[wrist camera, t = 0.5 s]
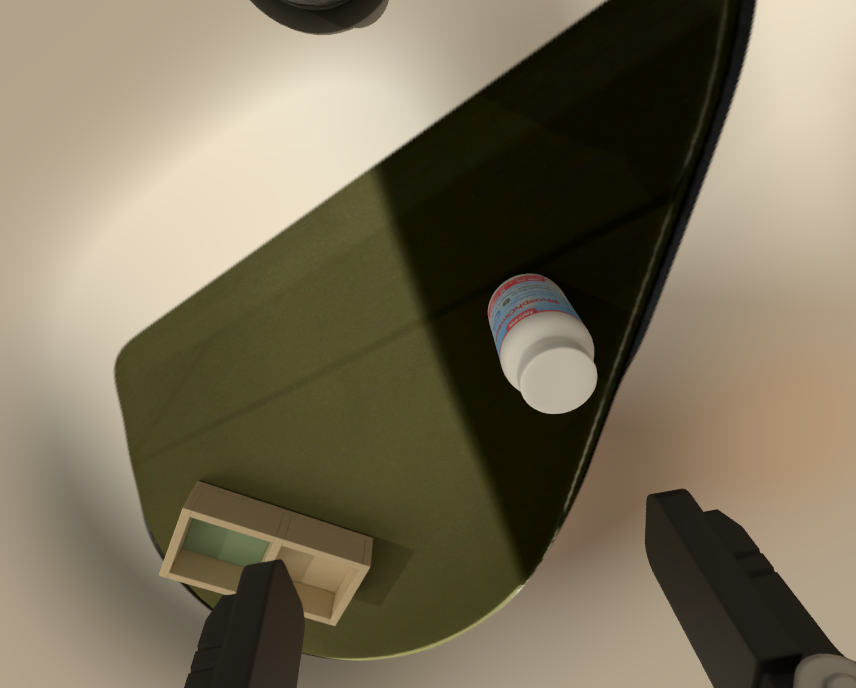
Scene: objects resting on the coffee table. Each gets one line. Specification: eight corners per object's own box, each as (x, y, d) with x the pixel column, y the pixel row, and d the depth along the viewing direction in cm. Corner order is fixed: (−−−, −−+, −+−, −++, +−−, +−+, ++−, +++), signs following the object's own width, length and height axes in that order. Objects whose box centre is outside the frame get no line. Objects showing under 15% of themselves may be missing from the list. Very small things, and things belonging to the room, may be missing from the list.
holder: (173, 546, 52) (158, 575, 49) (197, 480, 49) (182, 507, 45) (339, 595, 56) (335, 626, 53) (373, 537, 52) (370, 567, 49)
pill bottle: (533, 255, 40) (572, 315, 30) (579, 311, 42) (630, 384, 32) (470, 305, 41) (487, 378, 31) (518, 357, 43) (548, 440, 33)
